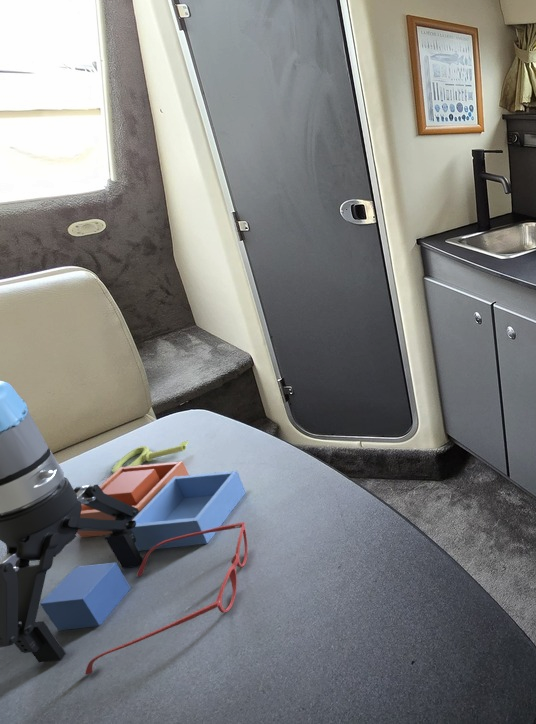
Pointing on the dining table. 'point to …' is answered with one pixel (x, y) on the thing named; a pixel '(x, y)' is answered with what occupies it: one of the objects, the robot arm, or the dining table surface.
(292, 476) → the dining table surface
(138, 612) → the dining table surface
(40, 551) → the robot arm
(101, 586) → the blue block
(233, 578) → the red eyeglasses
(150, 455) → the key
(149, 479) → the terracotta block
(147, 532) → the blue bin
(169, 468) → the terracotta bin
